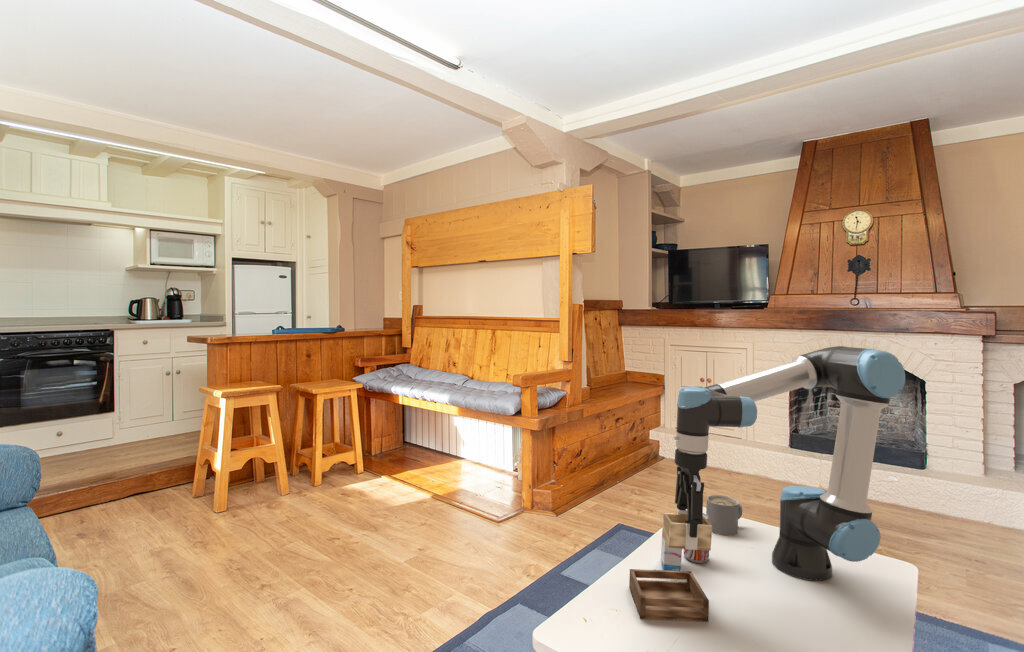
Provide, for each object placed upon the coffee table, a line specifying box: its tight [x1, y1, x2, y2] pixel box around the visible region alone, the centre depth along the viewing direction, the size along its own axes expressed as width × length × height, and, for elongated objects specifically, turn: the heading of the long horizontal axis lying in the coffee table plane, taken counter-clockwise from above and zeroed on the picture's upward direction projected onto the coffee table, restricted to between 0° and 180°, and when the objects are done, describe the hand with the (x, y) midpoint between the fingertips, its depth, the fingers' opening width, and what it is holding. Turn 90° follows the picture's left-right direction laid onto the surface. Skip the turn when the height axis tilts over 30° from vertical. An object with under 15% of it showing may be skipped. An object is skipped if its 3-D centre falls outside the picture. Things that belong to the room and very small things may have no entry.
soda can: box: [683, 513, 710, 564], centre depth 152 cm, size 7×7×13 cm
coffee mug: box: [705, 494, 743, 537], centre depth 174 cm, size 13×10×10 cm
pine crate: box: [661, 512, 713, 552], centre depth 128 cm, size 10×6×6 cm, turn 88°
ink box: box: [660, 536, 683, 571], centre depth 147 cm, size 9×5×12 cm, turn 168°
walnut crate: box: [628, 568, 710, 622], centre depth 128 cm, size 16×14×5 cm
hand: (686, 541), depth 128 cm, fingers closed on pine crate, 6 cm apart
